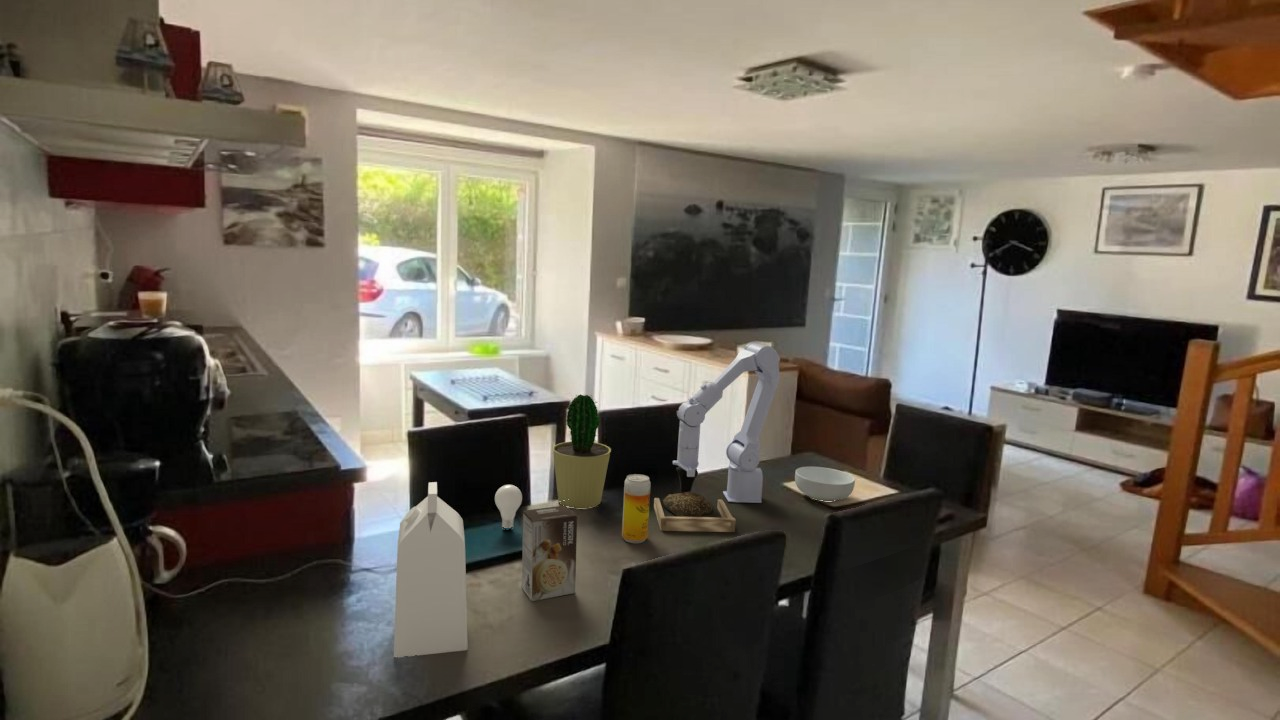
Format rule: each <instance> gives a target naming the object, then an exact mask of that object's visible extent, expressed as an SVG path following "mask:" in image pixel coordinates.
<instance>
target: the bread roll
mask: <svg viewBox="0 0 1280 720" xmlns="http://www.w3.org/2000/svg"><path fill="white" fill-rule="evenodd" d="M662 503H663V506H664V508H666V510H667V511H669V512H670V513H672V514H673V515H675V517H702V516H703V515H704V516H705V515H709V514H710V513H711V512H712V511H713V508H712V504H711V503H710V502H709V501H708V500H707V499H706V498H705V496H703V495H701V494H700V493H696V492H693V491H688V492H684V493H681V492H680V493H677V492H676V493H673V494H668V495H667V496H665V497H664V498H663V499H662Z"/></svg>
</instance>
